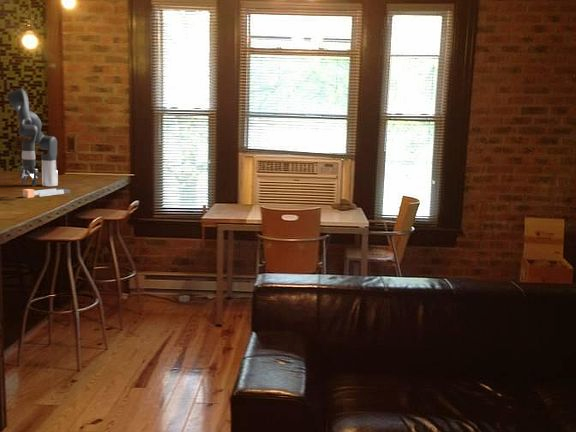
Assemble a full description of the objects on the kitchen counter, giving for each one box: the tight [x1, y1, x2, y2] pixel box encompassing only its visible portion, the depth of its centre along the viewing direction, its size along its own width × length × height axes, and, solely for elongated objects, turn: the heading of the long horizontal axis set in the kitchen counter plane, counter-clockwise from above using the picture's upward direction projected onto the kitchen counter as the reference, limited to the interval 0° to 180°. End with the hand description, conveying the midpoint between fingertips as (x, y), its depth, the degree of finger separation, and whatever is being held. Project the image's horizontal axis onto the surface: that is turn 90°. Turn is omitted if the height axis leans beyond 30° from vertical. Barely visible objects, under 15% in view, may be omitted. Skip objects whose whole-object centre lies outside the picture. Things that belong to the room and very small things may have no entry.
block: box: [22, 188, 35, 199], centre depth 404 cm, size 4×4×4 cm
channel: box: [34, 187, 64, 198], centre depth 416 cm, size 18×8×2 cm, turn 149°
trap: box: [56, 188, 71, 195], centre depth 426 cm, size 5×8×2 cm, turn 59°
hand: (29, 185), depth 404 cm, fingers open, 8 cm apart
